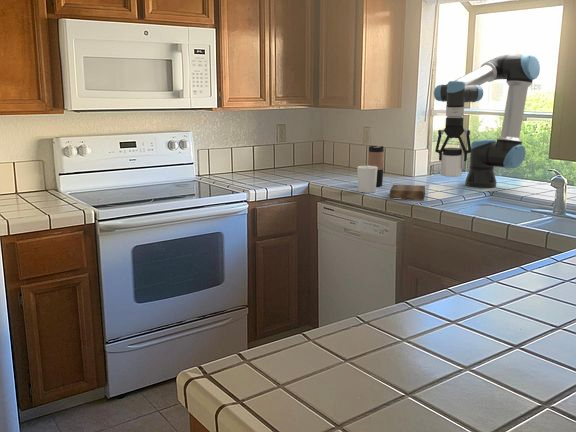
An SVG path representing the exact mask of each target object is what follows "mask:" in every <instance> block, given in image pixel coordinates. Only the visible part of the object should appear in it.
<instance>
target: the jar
mask: <svg viewBox="0 0 576 432" xmlns="http://www.w3.org/2000/svg"><path fill="white" fill-rule="evenodd" d="M442 153H443V169H441V168H440V176H443V177H446V178H448V177H449V178H457V177H462V174H463V171H462V170H463V169H462V154H463V149H462V147H461V148H459V147H445V148H444V149H443V152H442ZM440 163H442V161H440Z"/></svg>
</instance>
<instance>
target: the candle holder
mask: <svg viewBox="0 0 576 432" xmlns="http://www.w3.org/2000/svg"><path fill="white" fill-rule="evenodd" d="M356 169H357V172H356V173H357V188H358V189H357V191H358V192H359V193H361V192H365V193H364V194H372V193H371V192H374V193H375V192H376V190H377V187H376V181H377V169H378V167H376V166H368V165H359V166H357V167H356Z"/></svg>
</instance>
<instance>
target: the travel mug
mask: <svg viewBox="0 0 576 432" xmlns="http://www.w3.org/2000/svg"><path fill="white" fill-rule="evenodd" d="M384 151H385V150H384V146H383V145H380V146H377V145H369V146H368V159H367V160H368V161H367V166H376V167H378V169H377V181H376V188H380V186H381V187H383V180H384V179H383V178H384V159H385V157H384Z"/></svg>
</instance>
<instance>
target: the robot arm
mask: <svg viewBox="0 0 576 432" xmlns="http://www.w3.org/2000/svg"><path fill="white" fill-rule="evenodd" d="M540 71H541V65H540V61H539V58H538V57H537V56H536V55H535V54H532V53H531V54H530V53H519V54H518V53H516V54H503V55H500V56H496V57H494V58H492V59H489V60H488V61H486V62H484V63H483V64H481V65H480V67H478V68H477V69H475V70H473V71H470V72H469V73H467V74H465V75H463V76H460V77H459V78H457V79H455V80H450V81H448V82H447V83H446V84H438V85H437V86H436V87H435V88H434V90H433V96H434V99H435V100H436V101H438V102H443V103H444V102H446V106H445V116H446V118H445V126H444V129H439V130H438V131H437V134H438V137H437V140H436V146H435V149H434V151H435V153H438V161H439V162H440V163H441V161H442V163H441V165H440V170H441V169H443V149H444V148H446V145H447V144H448V142H449V140H450V139H458V141H459V143H460V147H461V149H462V152H463V153H462V170H464V169H465V167H464V166H465V162H467V160H468V154H470V157H469V159H470V160H469V170H468V173H467V176H466V177H465V181H464V185H465V186H467V187H471V188H480V189H481V188H485V189H486V188H495V187H497V177H496V175H495V168H494V167H497V168H503V169H517V168H519V167H520V166H521V165H522V163H523V162H524V160H525V157H526V152H527V151H526V148H525V146H524V145H523V141H522V139H521V138H520V136H521V131H522V124H523V119H524V113H525V106H526V101H527V95H528V90H529V87H530V86H532V84H533V80H536V79H537V78H538V76H539V75H540ZM495 80H506V81H505V82H506V83H507V85H508V90H507V96H506V103H505V108H504V114H503V121H502V125H501V126H502V127H501V131H500V133H501V134H500V136H499V137H497V138H496V139H480V140H479V139H478V140H473V141H471V138H470V133H471V130H470V129H464V120H465V119H464V115H465V114H464V113H465V103H477V102H480V101H481V100H482V98H483V96H484V89H483V87H482V86H481V85H483V84H485V83H488V82H489V83H491V82H494V81H495ZM444 133H445V135H446V137H445V140H444V141H443V144H442V145H441V147H440V143H441V139H442V136H443V134H444ZM463 133H464V135H465V136H466V144H467V149H466V146H465V144H464V141H463V139H462V135H463ZM439 147H440V149H439Z"/></svg>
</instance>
